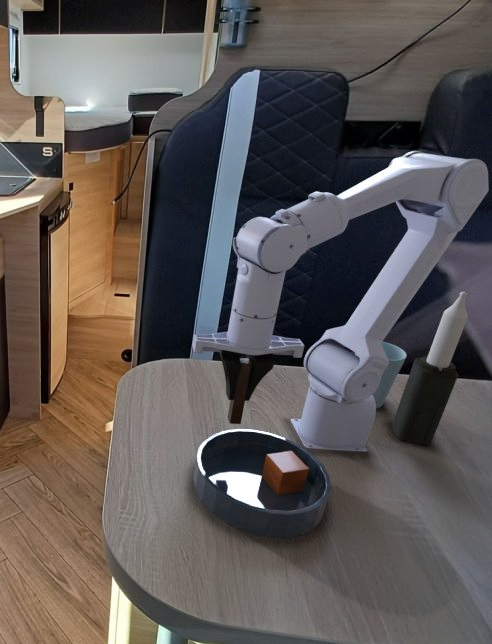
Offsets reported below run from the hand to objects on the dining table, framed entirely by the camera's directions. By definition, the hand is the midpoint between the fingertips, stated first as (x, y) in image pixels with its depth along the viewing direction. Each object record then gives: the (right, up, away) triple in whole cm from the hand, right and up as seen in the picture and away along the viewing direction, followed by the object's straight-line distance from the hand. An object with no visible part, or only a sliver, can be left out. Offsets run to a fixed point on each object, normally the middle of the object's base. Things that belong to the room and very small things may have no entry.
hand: (237, 396), depth 75 cm
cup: (+29, -3, +19) cm, 35 cm away
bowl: (+2, -13, -3) cm, 13 cm away
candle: (+32, -7, +10) cm, 34 cm away
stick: (0, -4, +1) cm, 4 cm away
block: (+6, -12, -2) cm, 13 cm away
